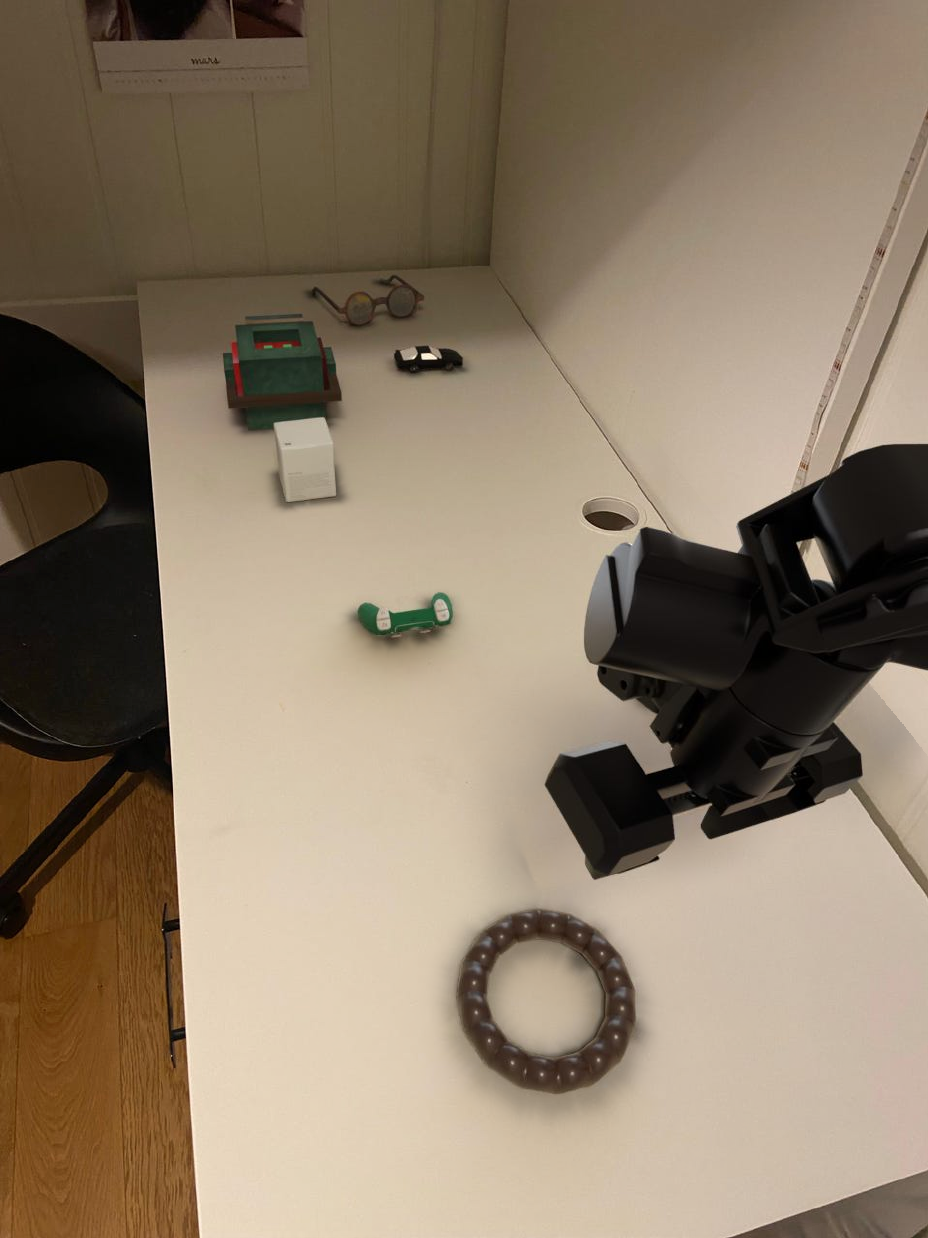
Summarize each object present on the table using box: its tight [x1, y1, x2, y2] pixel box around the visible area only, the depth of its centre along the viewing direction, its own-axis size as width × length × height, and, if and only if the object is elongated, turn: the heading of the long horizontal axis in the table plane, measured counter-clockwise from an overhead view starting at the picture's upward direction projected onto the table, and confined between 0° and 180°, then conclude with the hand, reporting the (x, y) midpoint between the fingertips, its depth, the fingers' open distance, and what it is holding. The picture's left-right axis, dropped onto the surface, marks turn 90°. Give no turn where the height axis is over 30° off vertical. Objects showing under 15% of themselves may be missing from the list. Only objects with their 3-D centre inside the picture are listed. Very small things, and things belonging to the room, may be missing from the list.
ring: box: [456, 908, 637, 1095], centre depth 57 cm, size 12×12×2 cm
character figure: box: [222, 313, 343, 432], centre depth 112 cm, size 14×14×20 cm
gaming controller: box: [357, 591, 454, 639], centre depth 82 cm, size 9×4×6 cm
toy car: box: [393, 345, 464, 374], centre depth 123 cm, size 10×4×3 cm, turn 104°
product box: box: [273, 417, 337, 503], centre depth 98 cm, size 6×6×7 cm
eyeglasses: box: [311, 274, 425, 326], centre depth 137 cm, size 15×15×5 cm
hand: (651, 851), depth 52 cm, fingers open, 9 cm apart
